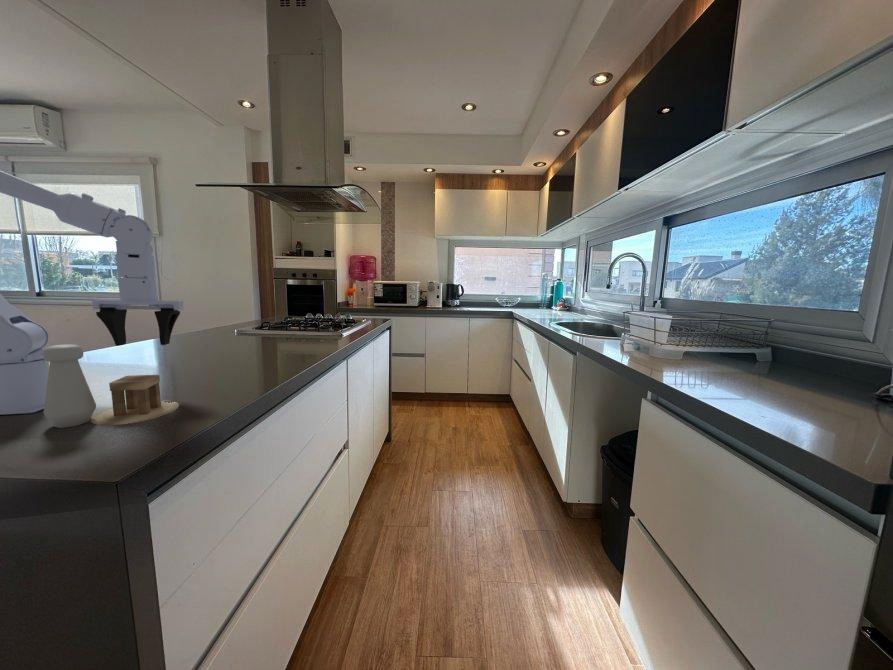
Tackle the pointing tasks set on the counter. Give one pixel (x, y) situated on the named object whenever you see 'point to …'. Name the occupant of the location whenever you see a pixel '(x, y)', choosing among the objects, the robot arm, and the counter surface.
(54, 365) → the salt shaker
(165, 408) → the trivet
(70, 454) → the counter surface
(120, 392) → the stool
